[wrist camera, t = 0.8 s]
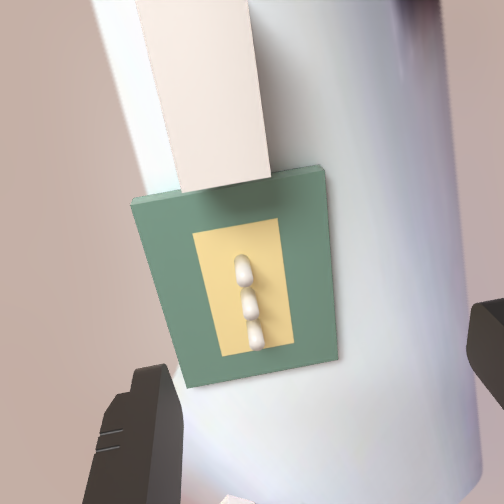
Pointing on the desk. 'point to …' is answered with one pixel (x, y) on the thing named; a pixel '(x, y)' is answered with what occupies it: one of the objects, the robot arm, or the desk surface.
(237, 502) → the white wedge bracket
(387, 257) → the desk surface
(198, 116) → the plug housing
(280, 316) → the header board
